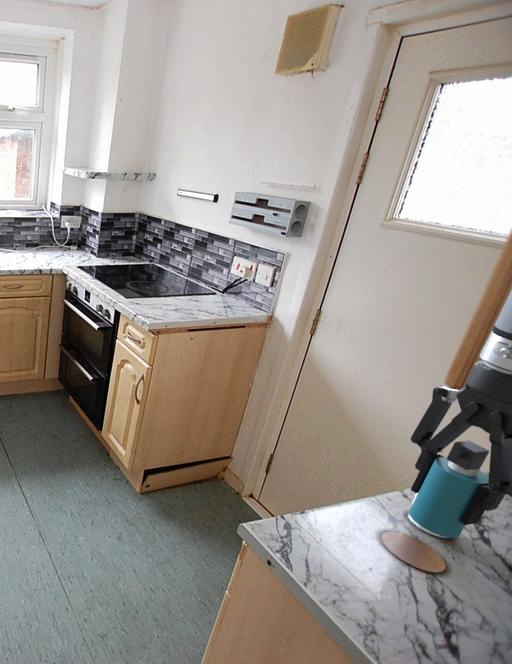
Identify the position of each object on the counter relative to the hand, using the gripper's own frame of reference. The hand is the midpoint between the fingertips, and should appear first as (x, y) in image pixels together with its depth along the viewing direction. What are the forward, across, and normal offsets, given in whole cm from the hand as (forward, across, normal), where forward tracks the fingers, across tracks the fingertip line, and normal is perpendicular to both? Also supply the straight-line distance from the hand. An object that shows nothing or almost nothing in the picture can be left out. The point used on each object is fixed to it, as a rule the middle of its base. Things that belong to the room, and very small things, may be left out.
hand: (442, 505), depth 70 cm
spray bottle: (+3, 0, 0) cm, 3 cm away
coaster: (+17, -5, +10) cm, 21 cm away
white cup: (+17, -9, +22) cm, 29 cm away
